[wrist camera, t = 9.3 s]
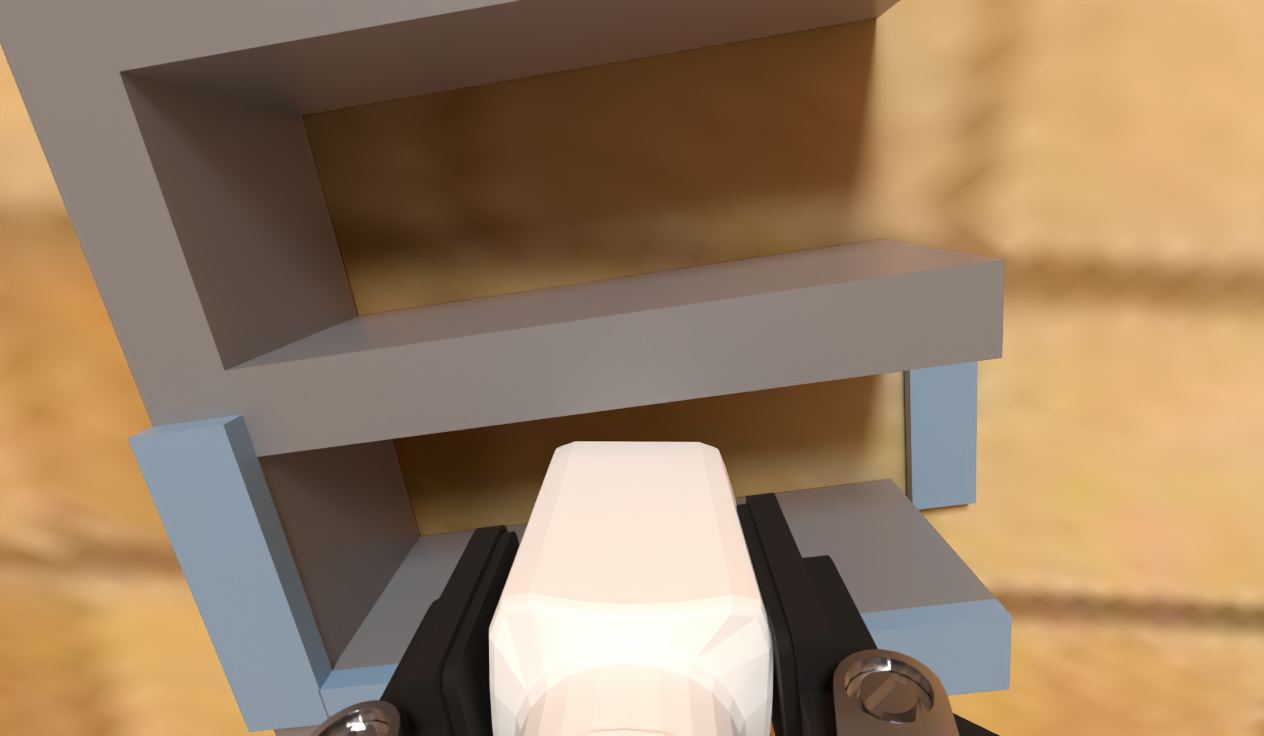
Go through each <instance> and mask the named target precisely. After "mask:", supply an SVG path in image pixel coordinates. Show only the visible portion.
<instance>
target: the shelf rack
mask: <svg viewBox="0 0 1264 736" xmlns="http://www.w3.org/2000/svg"><path fill="white" fill-rule="evenodd" d="M898 1H900V0H0V44H1V46H2V49H3V51H4V54H5V56H6V59H7V61H8V64H9V66H10V69H11V71H12V74H13V77H14V79H15V82H16V84H17V87H18V89H19V92H20V94H21V97H22V99H23V102H24V104H25V107H26V109H27V112H28V114H29V117H30V119H31V122H32V124H33V127H34V129H35V132H36V134H37V137H38V139H39V142H40V144H41V147H42V149H43V152H44V154H45V157H46V159H47V162H48V164H49V167H50V169H51V172H52V174H53V177H54V179H55V182H56V184H57V187H58V189H59V192H60V194H61V197H62V200H63V202H64V205H65V207H66V210H67V212H68V215H69V217H70V220H71V222H72V225H73V227H74V230H75V232H76V235H77V237H78V240H79V242H80V245H81V247H82V250H83V252H84V255H85V257H86V260H87V262H88V265H89V267H90V270H91V272H92V275H93V277H94V280H95V282H96V285H97V287H98V290H99V292H100V295H101V297H102V300H103V302H104V305H105V307H106V310H107V312H108V315H109V317H110V320H111V323H112V325H113V328H114V330H115V333H116V335H117V338H118V340H119V343H120V345H121V348H122V350H123V353H124V355H125V358H126V360H127V363H128V365H129V368H130V370H131V373H132V375H133V378H134V380H135V383H136V385H137V388H138V390H139V393H140V395H141V398H142V400H143V403H144V405H145V408H146V410H147V413H148V415H149V418H150V420H151V423H152V425H153V427H150V428H148V429H146V430H144V431H142V432H139V433H137V434H135V435H133V436H131V437H129V438H128V440H129V443H130V445H131V447H132V450H133V452H134V455H135V457H136V459H137V462H138V464H139V467H140V469H141V472H142V474H143V476H144V479H145V481H146V484H147V486H148V488H149V491H150V493H151V496H152V498H153V501H154V503H155V505H156V508H157V510H158V513H159V515H160V517H161V520H162V522H163V525H164V527H165V530H166V532H167V534H168V537H169V539H170V542H171V544H172V547H173V549H174V551H175V554H176V556H177V559H178V561H179V563H180V566H181V568H182V571H183V573H184V576H185V578H186V580H187V583H188V585H189V588H190V590H191V592H192V595H193V597H194V600H195V602H196V605H197V607H198V609H199V612H200V614H201V617H202V619H203V622H204V624H205V626H206V629H207V631H208V634H209V636H210V638H211V641H212V643H213V646H214V648H215V651H216V653H217V655H218V658H219V660H220V663H221V665H222V667H223V670H224V672H225V675H226V677H227V680H228V682H229V684H230V687H231V689H232V692H233V694H234V697H235V699H236V701H237V704H238V706H239V709H240V711H241V713H242V716H243V718H244V721H245V723H246V726H247V728H248V730H249V732H254V731H263V730H273V729H274V732H275V734H276V736H309V735H310V734H311V733H312V732H313V731H314V730H315V729H316V728H317V727H318V726H319V725H320V724H322V723H323V722H324V721H325V720H327V719H328V718H329V717H330V716H332V715H334V714H336V713H337V712H339V711H341V710H343V709H344V708H346V707H349V706H352V705H354V704H357V703H360V702H365V701H371V700H380V698H381V696H382V694H383V692H384V690H385V689H386V687H387V685H388V683H389V681H390V679H391V677H392V675H393V674H394V672H395V670H396V668H397V666H398V664H399V662H400V661H401V659H402V657H403V655H404V653H405V651H406V649H407V647H408V646H409V644H410V642H411V640H412V638H413V636H414V634H415V633H416V631H417V629H418V627H419V625H420V623H421V621H422V619H423V618H424V616H425V614H426V612H427V610H428V608H429V606H430V605H431V604H432V602H433V601H435V600H437V599H439V598H440V596H441V594H442V592H443V590H444V588H445V586H446V584H447V582H448V580H449V578H450V577H451V575H452V573H453V571H454V569H455V567H456V565H457V563H458V561H459V559H460V557H461V556H462V554H463V552H464V550H465V548H466V546H467V544H468V542H469V540H470V538H471V536H472V534H473V533H474V531H475V530H470V531H462V532H453V533H445V534H437V535H429V536H421V537H420V535H419V531H418V528H417V524H416V521H415V517H414V514H413V510H412V507H411V503H410V499H409V496H408V492H407V489H406V485H405V482H404V478H403V474H402V471H401V467H400V464H399V460H398V457H397V453H396V449H395V446H394V442H393V439H395V438H403V437H410V436H418V435H425V434H433V433H440V432H448V431H455V430H463V429H470V428H478V427H485V426H493V425H500V424H508V423H515V422H523V421H530V420H538V419H546V418H553V417H561V416H568V415H576V414H583V413H591V412H598V411H606V410H613V409H621V408H628V407H636V406H643V405H651V404H658V403H666V402H673V401H681V400H688V399H696V398H704V397H711V396H719V395H726V394H734V393H741V392H749V391H756V390H764V389H771V388H779V387H786V386H794V385H801V384H809V383H816V382H824V381H831V380H839V379H846V378H854V377H861V376H869V375H877V374H884V373H892V372H899V371H904V374H905V418H906V462H907V496H906V495H905V494H904V493H903V492H902V491H901V490H900V488H899V487H898V486H897V485H896V484H895V483H894V482H893V480H892V479H888V480H880V481H871V482H863V483H855V484H847V485H839V486H830V487H822V488H814V489H806V490H798V491H789V492H781V493H774V494H775V496H776V498H777V500H778V503H779V505H780V507H781V510H782V512H783V514H784V517H785V519H786V521H787V524H788V526H789V528H790V530H791V533H792V535H793V537H794V540H795V542H796V544H797V547H798V549H799V551H800V554H801V556H802V558H805V557H814V556H823V555H828V556H830V557H831V559H832V560H833V562H834V564H835V566H836V568H837V570H838V572H839V574H840V576H841V577H842V579H843V581H844V583H845V585H846V587H847V589H848V591H849V593H850V595H851V597H852V599H853V601H854V603H855V605H856V607H857V609H858V611H859V613H860V615H861V617H862V618H863V620H864V622H865V624H866V626H867V628H868V630H869V632H870V634H871V636H872V638H873V640H874V642H875V644H876V646H877V648H878V649H883V650H889V651H896V652H899V653H902V654H904V655H907V656H910V657H912V658H914V659H916V660H918V661H919V662H921V663H922V664H924V665H925V666H927V667H928V668H929V669H930V670H931V671H932V672H933V673H934V674H935V675H936V676H937V677H938V678H939V679H940V681H941V683H942V685H943V687H944V689H945V691H946V693H947V695H957V694H967V693H977V692H987V691H997V690H1007V689H1009V682H1010V652H1011V622H1012V616H1011V615H1010V614H1009V613H1008V612H1007V611H1006V609H1005V608H1004V607H1003V606H1002V605H1001V604H1000V603H999V601H998V600H997V599H996V598H995V597H994V596H993V595H992V593H991V592H990V591H989V590H988V589H987V588H986V587H985V585H984V584H983V583H982V582H981V581H980V580H979V579H978V577H977V576H976V575H975V574H974V573H973V572H972V571H971V569H970V568H969V567H968V566H967V565H966V564H965V563H964V561H963V560H962V559H961V558H960V557H959V556H958V555H957V553H956V552H955V551H954V550H953V549H952V548H951V547H950V545H949V544H948V543H947V542H946V541H945V540H944V539H943V537H942V536H941V535H940V534H939V533H938V532H937V531H936V529H935V528H934V527H933V526H932V525H931V524H930V523H929V521H928V520H927V519H926V518H925V517H924V516H923V515H922V514H921V512H920V511H919V510H921V509H929V508H937V507H946V506H954V505H963V504H971V503H976V435H977V361H982V360H989V359H997V358H1002V339H1003V299H1004V259H999V258H993V257H988V256H982V255H976V254H970V253H964V252H958V251H952V250H947V249H941V248H935V247H929V246H923V245H917V244H911V243H906V242H900V241H894V240H888V239H879V240H873V241H866V242H859V243H852V244H845V245H839V246H832V247H825V248H818V249H811V250H804V251H798V252H791V253H784V254H777V255H770V256H764V257H757V258H750V259H743V260H736V261H729V262H723V263H716V264H709V265H702V266H695V267H689V268H682V269H675V270H668V271H661V272H655V273H648V274H641V275H634V276H627V277H620V278H614V279H607V280H600V281H593V282H586V283H580V284H573V285H566V286H559V287H552V288H545V289H539V290H532V291H525V292H518V293H511V294H505V295H498V296H491V297H484V298H477V299H471V300H464V301H457V302H450V303H443V304H436V305H430V306H423V307H416V308H409V309H402V310H396V311H389V312H382V313H375V314H368V315H361V316H358V314H357V310H356V307H355V303H354V300H353V296H352V293H351V289H350V285H349V282H348V278H347V275H346V271H345V268H344V264H343V261H342V257H341V253H340V250H339V246H338V243H337V239H336V236H335V232H334V228H333V225H332V221H331V218H330V214H329V211H328V207H327V203H326V200H325V196H324V193H323V189H322V186H321V182H320V179H319V175H318V171H317V168H316V164H315V161H314V157H313V154H312V150H311V146H310V143H309V139H308V136H307V132H306V129H305V125H304V121H303V118H302V115H308V114H314V113H319V112H325V111H331V110H337V109H343V108H349V107H355V106H361V105H367V104H373V103H378V102H384V101H390V100H396V99H402V98H408V97H414V96H420V95H426V94H432V93H437V92H443V91H449V90H455V89H461V88H467V87H473V86H479V85H485V84H491V83H496V82H502V81H508V80H514V79H520V78H526V77H532V76H538V75H544V74H550V73H555V72H561V71H567V70H573V69H579V68H585V67H591V66H597V65H603V64H609V63H614V62H620V61H626V60H632V59H638V58H644V57H650V56H656V55H662V54H668V53H673V52H679V51H685V50H691V49H697V48H703V47H709V46H715V45H721V44H727V43H732V42H738V41H744V40H750V39H756V38H762V37H768V36H774V35H780V34H786V33H791V32H797V31H803V30H809V29H815V28H821V27H827V26H833V25H839V24H845V23H850V22H856V21H862V20H868V19H874V18H878V17H879V16H880V15H882V14H883V13H884V12H886V11H887V10H888V9H889V8H891V7H892V6H893V5H895V4H896V3H897V2H898ZM735 501H736V504H737V505H738V504H746V497H740V498H735ZM527 524H528V523H527ZM527 524H519V525H511V526H505V527H506V528H507V530H508V532H512V531H514V532H515V533H516V534H517V537H518V541H519V546H520V543H521V540H522V538H523V535H524V532H525V529H526V527H527Z"/></svg>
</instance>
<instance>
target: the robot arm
mask: <svg viewBox="0 0 1264 736" xmlns="http://www.w3.org/2000/svg"><path fill="white" fill-rule="evenodd" d="M737 511H738V515H739V518H740V522H741V525H742V529H743V532H744V536H745V539H746V543H747V546H748V550H749V553H750V557H751V560H752V563H753V567H754V570H755V574H756V577H757V581H758V584H759V588H760V591H761V595H762V598H763V602H764V605H765V609H766V612H767V616H768V620H769V625H770V630H771V636H772V642H773V651H774V653H773V657H774V669H773V701H772V723H773V728H774V732H775V736H999V735H997V734H995V733H993V732H991V731H989V730H987V729H985V728H983V727H980V726H978V725H976V724H974V723H972V722H970V721H968V720H966V719H964V718H962V717H960V716H958V715H956V714H954V713H952V709H951V706H950V703H949V700H948V696H947V693H946V691H945V689H944V687H943V685H942V683H941V681H940V679H939V678H938V677H937V676H936V675H935V674H934V673H933V672H932V671H931V670H930V669H929V668H928V667H927V666H925V665H924V664H922V663H921V662H919V661H918V660H916V659H914V658H912V657H910V656H907V655H904V654H902V653H899V652H896V651H889V650H883V649H878V648H877V646H876V644H875V642H874V640H873V638H872V636H871V634H870V632H869V630H868V628H867V626H866V624H865V622H864V620H863V618H862V617H861V615H860V613H859V611H858V609H857V607H856V605H855V603H854V601H853V599H852V597H851V595H850V593H849V591H848V589H847V587H846V585H845V583H844V581H843V579H842V577H841V576H840V574H839V572H838V570H837V568H836V566H835V564H834V562H833V560H832V559H831V557H830V556H828V555H823V556H814V557H805V558H802V556H801V554H800V551H799V549H798V547H797V544H796V542H795V540H794V537H793V535H792V533H791V530H790V528H789V526H788V524H787V521H786V519H785V517H784V514H783V512H782V510H781V507H780V505H779V503H778V500H777V498H776V496H775V494H774V493H768V494H759V495H751V496H746V504H738V505H737ZM518 548H519V541H518V537H517V534H516V533H515V532H514V531H512V532H508V530H507V528H506V527H505V526H504V525H502V526H494V527H485V528H478V529H476V530H475V531H474V533H473V534H472V536H471V538H470V540H469V542H468V544H467V546H466V548H465V550H464V552H463V554H462V556H461V557H460V559H459V561H458V563H457V565H456V567H455V569H454V571H453V573H452V575H451V577H450V578H449V580H448V582H447V584H446V586H445V588H444V590H443V592H442V594H441V596H440V598H439V599H437V600H435V601H433V602H432V604H431V605H430V606H429V608H428V610H427V612H426V614H425V616H424V618H423V619H422V621H421V623H420V625H419V627H418V629H417V631H416V633H415V634H414V636H413V638H412V640H411V642H410V644H409V646H408V647H407V649H406V651H405V653H404V655H403V657H402V659H401V661H400V662H399V664H398V666H397V668H396V670H395V672H394V674H393V675H392V677H391V679H390V681H389V683H388V685H387V687H386V689H385V690H384V692H383V694H382V696H381V698H380V700H371V701H365V702H360V703H357V704H354V705H352V706H349V707H346V708H344V709H343V710H341V711H339V712H337V713H336V714H334V715H332V716H330V717H329V718H328V719H327V720H325V721H324V722H323V723H322V724H320V725H319V726H318V727H317V728H316V729H315V730H314V731H313V732H312V733H311V734H310V735H309V736H493V729H492V715H491V699H490V672H489V627H490V624H491V621H492V619H493V616H494V613H495V611H496V608H497V605H498V602H499V600H500V597H501V594H502V592H503V589H504V586H505V584H506V581H507V578H508V575H509V573H510V570H511V567H512V565H513V562H514V559H515V556H516V554H517V551H518Z"/></svg>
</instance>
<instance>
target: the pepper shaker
mask: <svg viewBox="0 0 1264 736" xmlns="http://www.w3.org/2000/svg"><path fill="white" fill-rule="evenodd" d="M773 653H774V651H773V642H772V636H771V630H770V625H769V620H768V616H767V612H766V609H765V605H764V602H763V598H762V595H761V591H760V588H759V584H758V581H757V577H756V574H755V570H754V567H753V563H752V560H751V557H750V553H749V550H748V546H747V543H746V539H745V536H744V532H743V529H742V525H741V522H740V518H739V515H738V511H737V504H736V501H735V497H734V494H733V490H732V487H731V483H730V480H729V477H728V473H727V470H726V467H725V464H724V462H723V459H722V457H721V454H720V452H719V450H718V449H717V448H715V447H713V446H710V445H707V444H703V443H701V442H616V441H575V442H572V443H569V444H566V445H562V446H560V447H558V448H556V450H555V452H554V455H553V457H552V460H551V462H550V465H549V467H548V470H547V473H546V475H545V478H544V481H543V483H542V486H541V489H540V492H539V494H538V497H537V500H536V502H535V505H534V508H533V510H532V513H531V516H530V519H529V521H528V524H527V527H526V529H525V532H524V535H523V538H522V540H521V543H520V546H519V548H518V551H517V554H516V556H515V559H514V562H513V565H512V567H511V570H510V573H509V575H508V578H507V581H506V584H505V586H504V589H503V592H502V594H501V597H500V600H499V602H498V605H497V608H496V611H495V613H494V616H493V619H492V621H491V624H490V627H489V672H490V699H491V715H492V729H493V736H770V733H771V721H772V701H773V669H774V657H773Z"/></svg>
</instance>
